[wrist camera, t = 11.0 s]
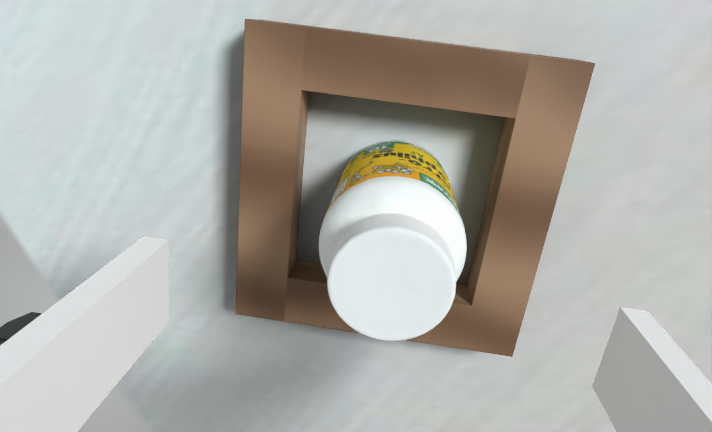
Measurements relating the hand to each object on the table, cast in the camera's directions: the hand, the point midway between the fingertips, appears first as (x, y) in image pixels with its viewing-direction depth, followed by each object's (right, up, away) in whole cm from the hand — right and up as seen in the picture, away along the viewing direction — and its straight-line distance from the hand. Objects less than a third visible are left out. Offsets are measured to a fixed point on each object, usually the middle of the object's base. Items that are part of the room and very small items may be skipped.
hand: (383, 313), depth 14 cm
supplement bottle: (+1, +4, +10) cm, 11 cm away
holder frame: (+1, +4, +10) cm, 11 cm away
